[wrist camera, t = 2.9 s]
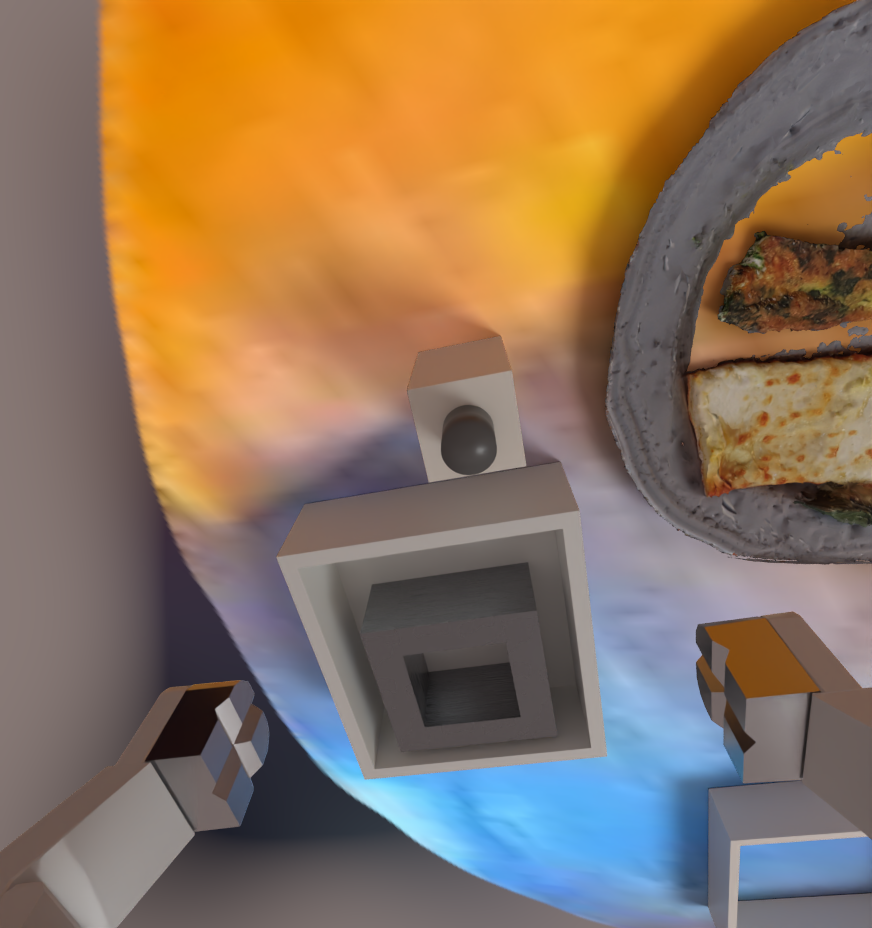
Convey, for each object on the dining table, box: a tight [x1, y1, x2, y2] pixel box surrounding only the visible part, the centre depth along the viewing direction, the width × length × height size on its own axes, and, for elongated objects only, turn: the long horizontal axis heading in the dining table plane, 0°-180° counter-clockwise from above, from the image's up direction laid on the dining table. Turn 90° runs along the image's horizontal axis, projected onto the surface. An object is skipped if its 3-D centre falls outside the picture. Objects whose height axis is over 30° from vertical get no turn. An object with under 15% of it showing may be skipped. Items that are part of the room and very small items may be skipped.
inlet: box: [360, 562, 558, 752], centre depth 31 cm, size 9×9×4 cm
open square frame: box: [708, 781, 872, 928], centre depth 39 cm, size 15×15×4 cm
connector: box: [407, 336, 526, 482], centre depth 23 cm, size 4×4×8 cm
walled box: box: [276, 462, 607, 779], centre depth 30 cm, size 16×14×5 cm
